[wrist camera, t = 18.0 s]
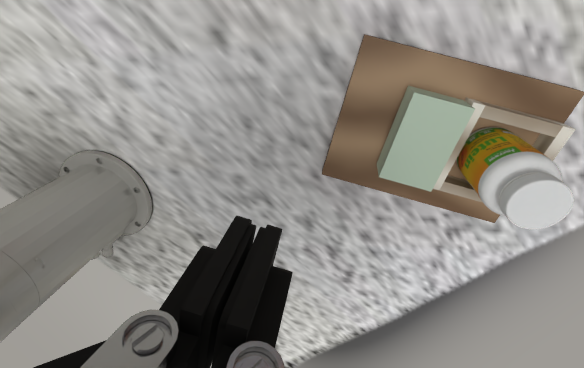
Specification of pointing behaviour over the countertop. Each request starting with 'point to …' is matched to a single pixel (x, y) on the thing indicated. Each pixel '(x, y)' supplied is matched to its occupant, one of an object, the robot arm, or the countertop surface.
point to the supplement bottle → (514, 178)
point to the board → (451, 82)
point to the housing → (422, 137)
